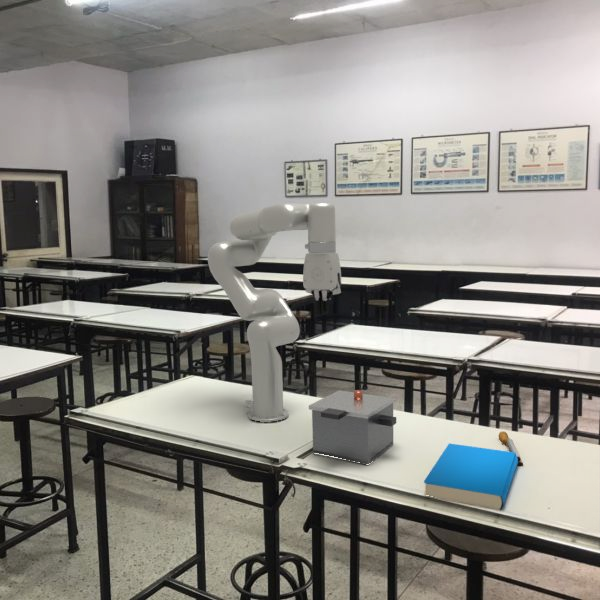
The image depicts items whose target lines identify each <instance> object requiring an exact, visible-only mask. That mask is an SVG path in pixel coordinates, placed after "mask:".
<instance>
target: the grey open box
mask: <svg viewBox="0 0 600 600" xmlns="http://www.w3.org/2000/svg"><path fill="white" fill-rule="evenodd" d="M321 412H322V411H316V410H311V416H312V419H311V422H312V423H311V425H312V454H313V453H319V454H324V455H329V456H334V457H338V458H342V459H346V460H350V461H355V462H360V463H365V464H369V463H371V462H372V461H373V462H374V461H376V460H377V459H378V458H380V456H382V455H383V454H384V453H385V452H387V451H388V450H389V449H390V448H391V447H393V446H394V425H396V424H397V416H394V402H393V403H392V404H390V405H389V406H387V407H385V408H384V409H382V410H381V411H379V412H378V413H376V414H375V415H373V416H371V417H370V418H368V419H364V418H358V417H352V416H344V417H343V418H341V419H339V420H336V419H331V418H325V417H321ZM387 449H388V450H387ZM386 450H387V451H386ZM376 458H377V459H376ZM375 459H376V460H375ZM373 462H372V463H373ZM372 463H371V464H372Z"/></svg>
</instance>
